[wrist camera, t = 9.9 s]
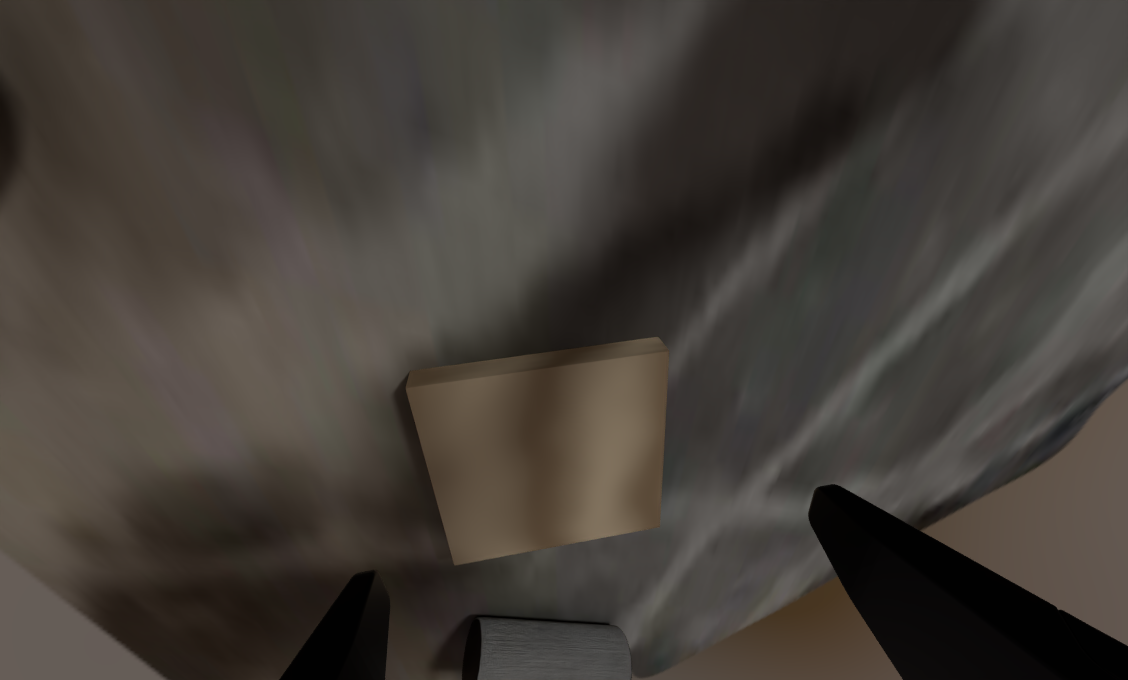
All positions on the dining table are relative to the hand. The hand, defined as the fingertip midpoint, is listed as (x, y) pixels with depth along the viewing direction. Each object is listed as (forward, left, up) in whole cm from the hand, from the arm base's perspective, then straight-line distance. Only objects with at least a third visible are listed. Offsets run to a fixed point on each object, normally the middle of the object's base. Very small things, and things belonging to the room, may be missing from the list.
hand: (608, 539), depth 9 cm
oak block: (0, +9, -13) cm, 16 cm away
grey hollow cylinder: (+7, +23, -11) cm, 26 cm away
